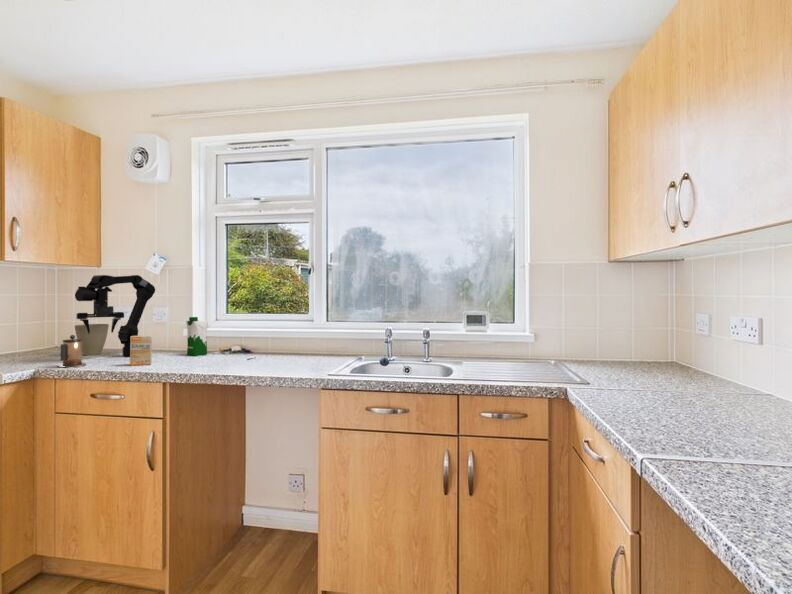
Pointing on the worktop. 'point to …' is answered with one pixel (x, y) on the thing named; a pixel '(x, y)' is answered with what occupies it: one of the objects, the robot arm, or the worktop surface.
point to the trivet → (77, 365)
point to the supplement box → (140, 350)
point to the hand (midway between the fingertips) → (100, 333)
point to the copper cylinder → (71, 351)
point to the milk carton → (196, 337)
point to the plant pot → (92, 338)
